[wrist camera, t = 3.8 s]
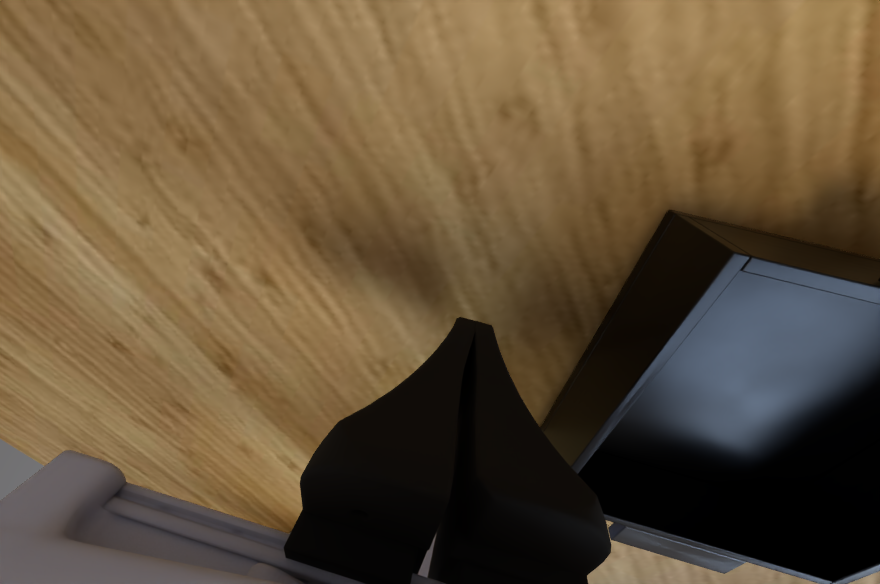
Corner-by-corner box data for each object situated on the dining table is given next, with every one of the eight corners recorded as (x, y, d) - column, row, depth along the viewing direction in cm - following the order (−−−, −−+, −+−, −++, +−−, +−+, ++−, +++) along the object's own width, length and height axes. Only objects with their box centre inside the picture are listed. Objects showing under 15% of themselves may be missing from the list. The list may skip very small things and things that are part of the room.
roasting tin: (529, 446, 17) (532, 516, 14) (695, 163, 9) (780, 190, 6) (754, 510, 16) (808, 599, 14) (1139, 263, 9) (1466, 345, 6)
